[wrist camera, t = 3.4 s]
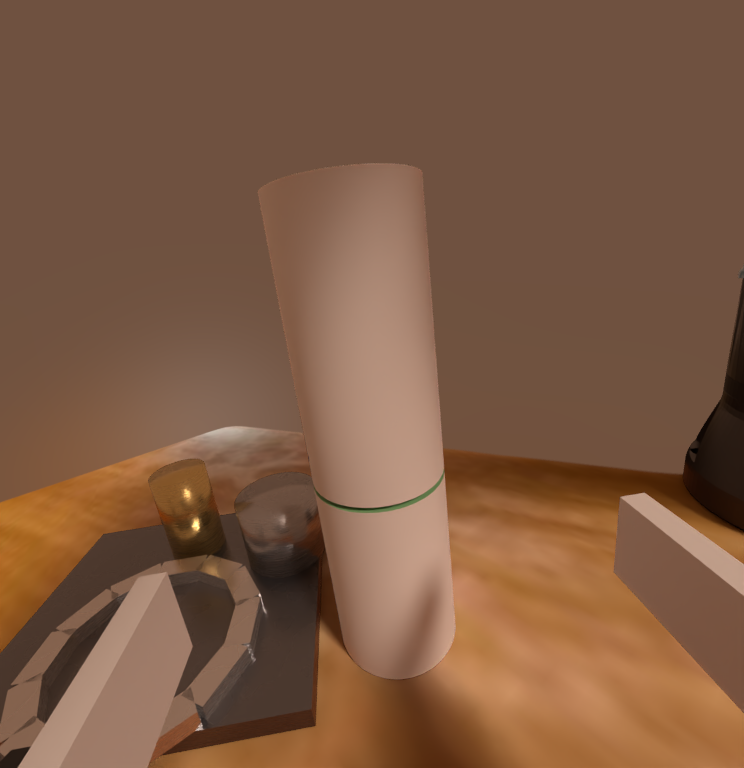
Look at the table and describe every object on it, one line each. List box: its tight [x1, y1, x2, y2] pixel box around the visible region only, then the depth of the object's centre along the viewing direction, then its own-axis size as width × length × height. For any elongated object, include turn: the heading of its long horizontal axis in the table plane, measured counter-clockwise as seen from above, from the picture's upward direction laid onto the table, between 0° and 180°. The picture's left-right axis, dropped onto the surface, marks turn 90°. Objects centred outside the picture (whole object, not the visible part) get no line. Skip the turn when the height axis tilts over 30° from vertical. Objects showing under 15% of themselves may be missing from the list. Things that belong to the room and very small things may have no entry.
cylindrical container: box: [258, 163, 456, 680], centre depth 21 cm, size 7×7×25 cm
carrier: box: [0, 459, 325, 763], centre depth 25 cm, size 20×20×8 cm
